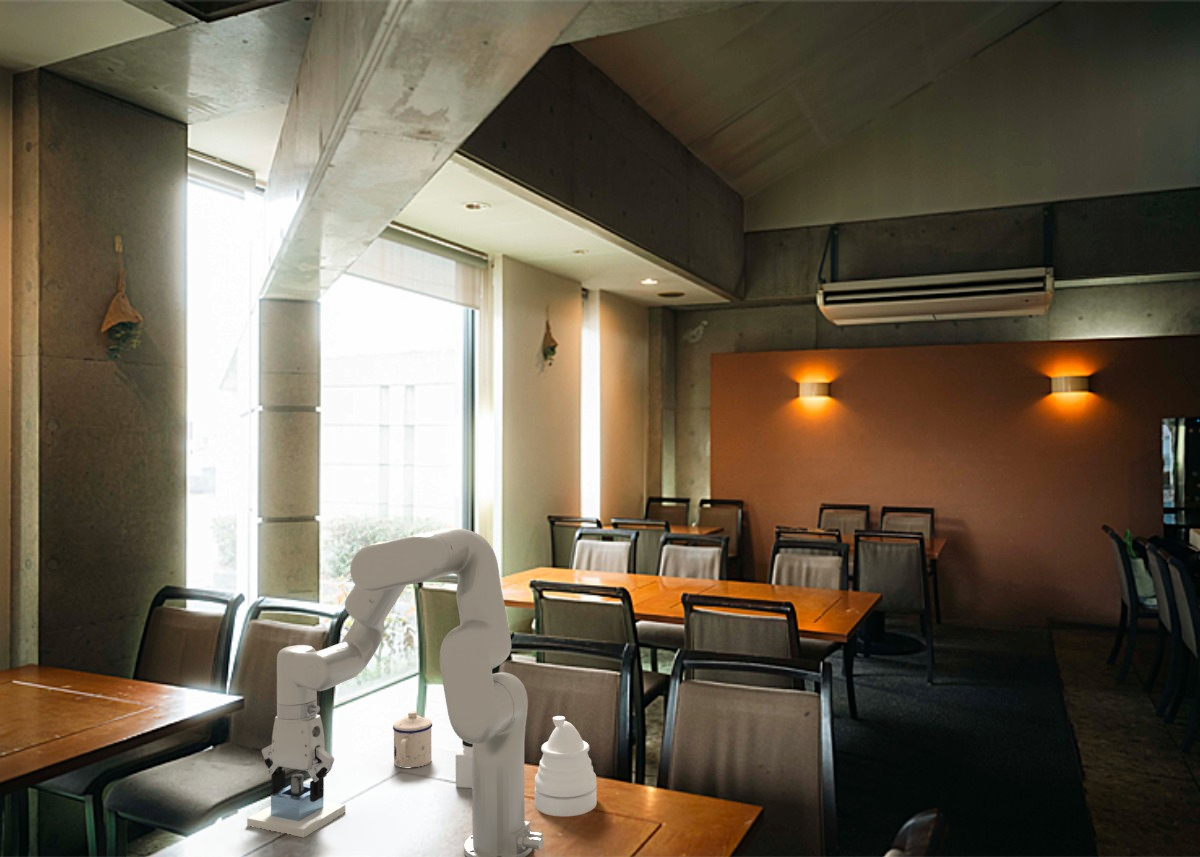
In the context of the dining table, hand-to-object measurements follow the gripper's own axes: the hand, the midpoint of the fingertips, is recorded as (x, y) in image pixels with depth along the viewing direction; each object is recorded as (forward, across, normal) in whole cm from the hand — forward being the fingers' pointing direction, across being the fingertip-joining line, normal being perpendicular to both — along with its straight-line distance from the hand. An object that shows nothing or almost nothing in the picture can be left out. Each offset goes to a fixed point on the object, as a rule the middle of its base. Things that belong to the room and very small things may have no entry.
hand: (297, 795), depth 169 cm
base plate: (+5, 0, 0) cm, 5 cm away
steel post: (+3, 0, 0) cm, 3 cm away
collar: (+3, 0, 0) cm, 3 cm away
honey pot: (+5, -47, -26) cm, 54 cm away
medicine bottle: (+5, -24, -29) cm, 38 cm away
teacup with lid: (+5, -4, -33) cm, 34 cm away
